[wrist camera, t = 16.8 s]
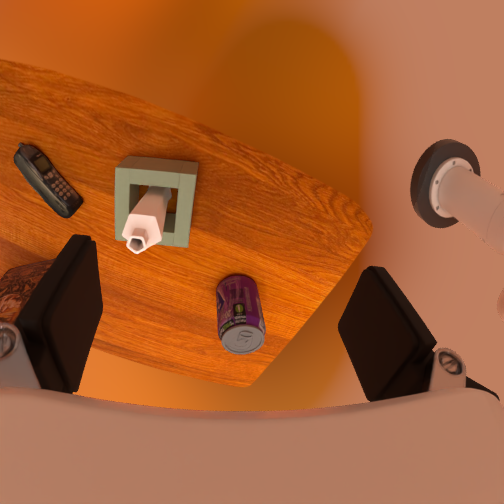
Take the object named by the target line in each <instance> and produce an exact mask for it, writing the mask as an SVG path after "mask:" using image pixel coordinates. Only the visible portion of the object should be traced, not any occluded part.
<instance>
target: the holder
mask: <svg viewBox="0 0 504 504" xmlns="http://www.w3.org/2000/svg"><path fill="white" fill-rule="evenodd" d="M198 165H199V162H191V161H182V160H173V159H162V158H151V157H139V156H127V157H126V158H125V159H124V160H123V161H122V162H121V163H120V164H119V165H118V166H117V167H116V168H115V240H121V241H128V240H127V239H125V238H124V237H123V236H122V233H123V230H124V227H125V224H126V221H127V219H128V216H129V214H130V213H131V212H132V210H133V209H134V208H135V206H136V205H137V204H138V202H139V185H149V186H159V187H169V188H178V197H177V208H176V214H172V213H166V216H165V222H164V228H163V235H162V240H161V241H160V242H158V243H156V244H158V245H167V246H177V247H186V248H188V244H189V236H190V228H191V220H192V211H193V203H194V195H195V187H196V180H197V173H198Z"/></svg>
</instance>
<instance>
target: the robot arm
mask: <svg viewBox="0 0 504 504" xmlns="http://www.w3.org/2000/svg"><path fill="white" fill-rule="evenodd" d="M429 200H430V204H431V207H432V208H433V210H434V211H435V212H436V213H437V214H438V215H440V216H442V217H445V218H449V217H455V218H456V219H457V220H458V221H460V222H461V223H462V224H463V225H465V226H466V227H467V228H468V229H470V230H471V231H472V232H473V233H474V234H476V235H477V236H478V237H479V238H480V239H482V240H483V241H484V242H485V243H486V244H487V245H488V246H490V247H491V248H492V249H493V250H495V251H496V252H497V253H499V254H502V255H504V191H503V190H502V189H500V188H498V187H497V186H495V185H493V184H492V183H490V182H488V181H487V180H485V179H483V178H481V177H480V176H478V175H476V174H474V172H473V169H472V167H471V165H470V164H469V163H468V162H467V161H466V160H464V159H462V158H459V157H452V158H449V159H447V160H445V161H444V162H443V163H442V164H440V165H439V167H438V168H437V169H436V171H435V173H434V175H433V177H432V179H431V183H430V187H429ZM497 310H498V313H499V315H500V317H501V319H502V320H503V322H504V289H503V290H502V293H501V294H500V296H499V299H498V302H497ZM102 311H103V302H102V294H101V287H100V279H99V270H98V260H97V249H96V242H95V241H92V240H91V237H90V236H87V235H77V234H74V235H73V236H72V237H71V238H70V240H69V241H68V242H67V244H66V245H65V246H64V248H63V249H62V251H61V252H60V253H59V255H58V256H57V258H56V259H55V261H54V262H53V264H52V265H51V267H50V268H49V270H48V271H46V273H45V274H44V275H43V277H42V278H41V280H40V281H39V283H38V284H37V286H36V287H35V289H34V291H33V292H32V294H31V296H30V297H29V299H28V300H27V302H26V304H25V306H24V307H23V309H22V311H21V312H20V314H19V316H18V318H17V319H16V321H15V323H14V325H13V324H10V323H7V322H0V504H504V407H503V406H502V404H501V403H500V401H499V397H498V395H497V394H496V393H494V392H493V391H491V390H489V389H487V388H486V387H484V386H482V385H480V384H479V383H477V382H475V381H473V380H472V379H470V378H468V377H467V376H466V366H465V364H464V361H463V360H462V358H461V357H460V356H459V355H458V354H457V353H456V352H454V351H453V350H451V349H448V348H439V349H438V350H436V351H435V353H434V352H433V350H432V349H433V348H434V346H435V345H436V343H437V342H436V340H435V338H434V337H433V335H432V334H431V332H430V331H429V329H428V328H427V326H426V325H425V323H424V322H423V321H422V319H421V318H420V316H419V315H418V313H417V312H416V311H415V309H414V308H413V306H412V305H411V303H410V302H409V301H408V299H407V298H406V296H405V295H404V294H403V292H402V291H401V289H400V288H399V287H398V285H397V284H396V283H395V281H394V280H393V278H392V277H391V276H390V275H389V273H388V272H387V271H386V269H385V268H383V267H377V266H369V267H368V268H367V269H365V270H364V271H363V272H362V274H361V276H360V278H359V281H358V283H357V285H356V288H355V289H354V292H353V294H352V296H351V298H350V300H349V302H348V304H347V306H346V309H345V311H344V313H343V315H342V317H341V319H340V321H339V323H338V331H339V333H340V336H341V338H342V340H343V343H344V345H345V347H346V350H347V352H348V354H349V357H350V359H351V362H352V364H353V366H354V369H355V371H356V374H357V376H358V378H359V381H360V383H361V386H362V388H363V391H364V393H365V396H366V398H367V400H369V401H370V402H368V403H361V404H353V405H345V406H336V407H327V408H316V409H303V410H287V411H255V412H254V411H253V412H252V411H248V412H246V411H244V412H243V411H240V412H239V411H203V410H186V409H185V410H184V409H172V408H161V407H152V406H144V405H136V404H129V403H120V402H114V401H108V400H101V399H95V398H90V397H84V396H79V395H74V394H72V393H73V392H77V391H78V389H79V385H80V381H81V378H82V374H83V371H84V367H85V364H86V361H87V357H88V354H89V351H90V348H91V345H92V342H93V339H94V336H95V333H96V330H97V327H98V324H99V321H100V318H101V315H102Z"/></svg>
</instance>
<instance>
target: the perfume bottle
mask: <svg viewBox="0 0 504 504" xmlns="http://www.w3.org/2000/svg"><path fill="white" fill-rule="evenodd" d="M171 198H172V194H171V190H170V188H169V187H159V186H149V188H148V190H147V192H146V194H145V195H144V196H143V197H142V199H141V200H140V201H139V203H138V204H137V205H136V206H135V208H134V209H133V210H132V212H131V213H130V214H129V216H128V219H127V221H126V224H125V227H124V230H123V233H122V236H123V237H124V238H125V239H127V240H128V242H127V245H126V246H127V247H128V248H129V249H130V250H131V251H133V252H134V253H135V254H138V253H140V252H142V251H144V250H146V249H147V248H148V247H150V246H152V245H154V244H156V243H158V242H160V241H161V240H162V235H163V228H164V222H165V216H166V209H167V203H168V200H170V199H171Z"/></svg>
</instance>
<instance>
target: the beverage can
mask: <svg viewBox="0 0 504 504" xmlns="http://www.w3.org/2000/svg"><path fill="white" fill-rule="evenodd" d="M216 300H217V323H218V335H219V338H220V340H221V341H222V345H223V347H224V348H225V349H226V350H227V351H229V352H231V353H234V354H248V353H252V352H254V351H256V350H258V349H259V348H260V347H261V346H262V345H263V343H264V335H265V331H266V328H265V322H264V318H263V313H262V308H261V303H260V298H259V293H258V289H257V285H256V284H255V282H254V281H253V280H251V279H250V278H248V277H245V276H231V277H228V278H226V279H224V280H223V281H222V282H221V283H220V284H219V285H218V287H217V290H216Z"/></svg>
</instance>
